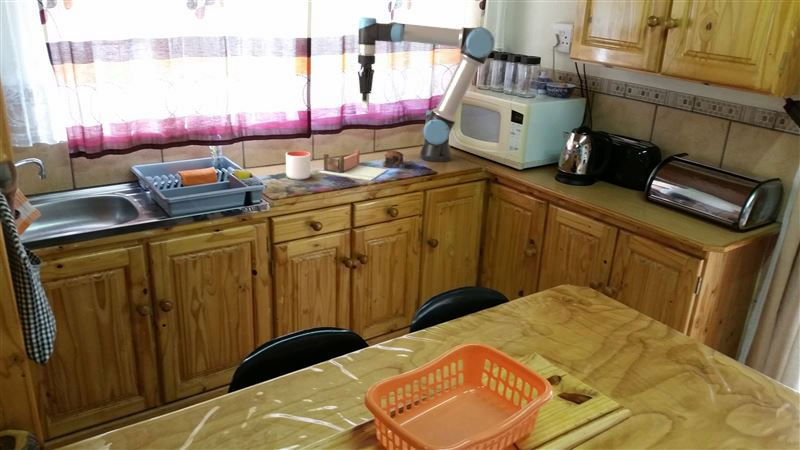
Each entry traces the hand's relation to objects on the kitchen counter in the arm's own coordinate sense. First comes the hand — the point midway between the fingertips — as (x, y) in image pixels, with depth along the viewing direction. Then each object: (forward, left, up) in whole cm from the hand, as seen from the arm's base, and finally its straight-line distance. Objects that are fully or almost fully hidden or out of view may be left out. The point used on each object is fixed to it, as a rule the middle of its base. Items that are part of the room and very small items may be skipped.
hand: (365, 108), depth 289 cm
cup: (+12, +40, -25) cm, 49 cm away
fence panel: (-2, +18, -24) cm, 30 cm away
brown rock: (-16, +2, -25) cm, 30 cm away
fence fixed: (+3, +26, -24) cm, 36 cm away
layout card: (-4, +20, -24) cm, 32 cm away
